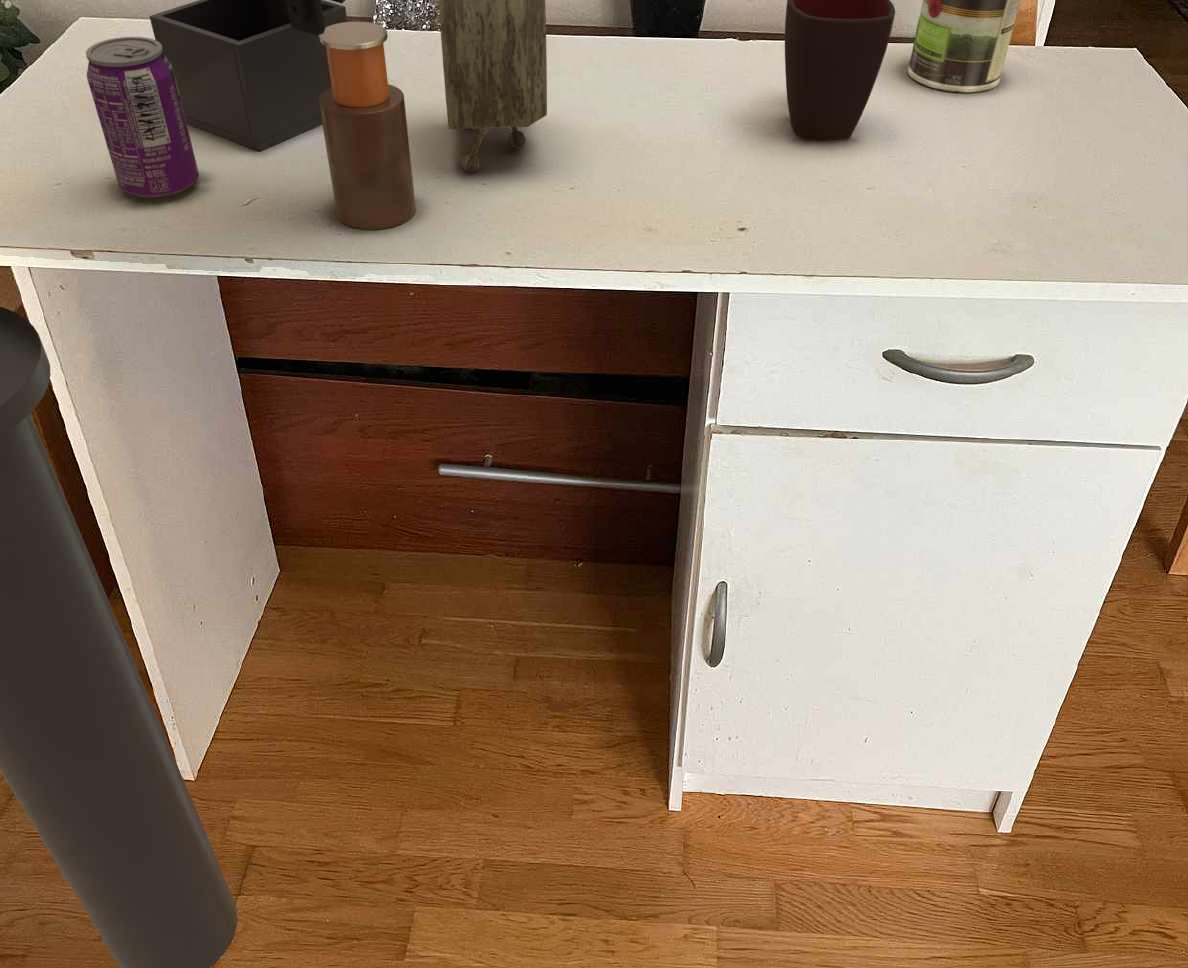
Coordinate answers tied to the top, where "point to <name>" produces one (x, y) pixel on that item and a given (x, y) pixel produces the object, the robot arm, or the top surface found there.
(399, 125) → the stand
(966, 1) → the coffee can
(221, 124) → the open storage bin
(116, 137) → the beverage can
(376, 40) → the cylinder
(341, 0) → the lid
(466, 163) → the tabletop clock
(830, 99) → the cup
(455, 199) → the top surface
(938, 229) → the top surface
